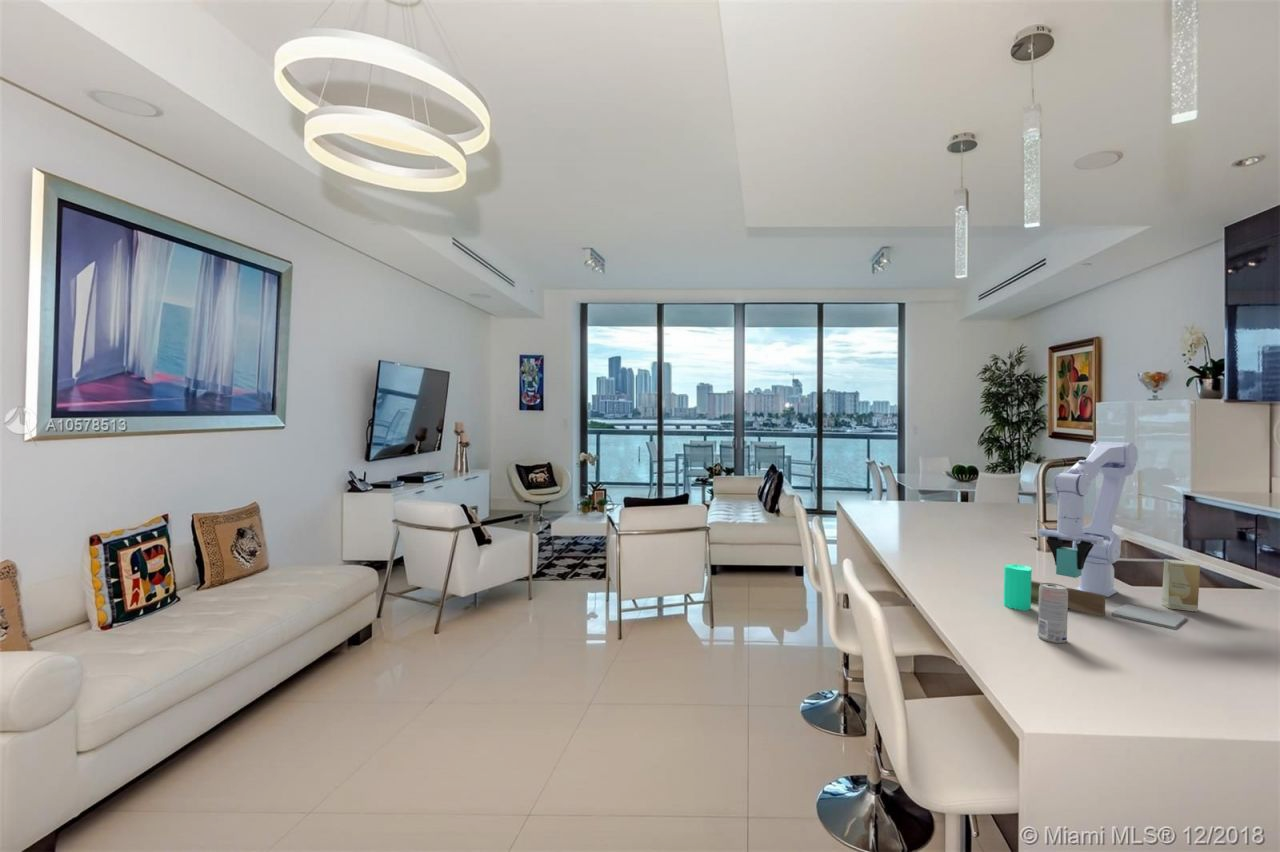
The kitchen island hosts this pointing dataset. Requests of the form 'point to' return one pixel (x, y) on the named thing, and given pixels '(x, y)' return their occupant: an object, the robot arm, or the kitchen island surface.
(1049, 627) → the energy drink
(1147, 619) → the grey mat
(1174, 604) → the skincare box
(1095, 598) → the walnut screen
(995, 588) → the kitchen island surface
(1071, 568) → the teal block
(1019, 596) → the candle
